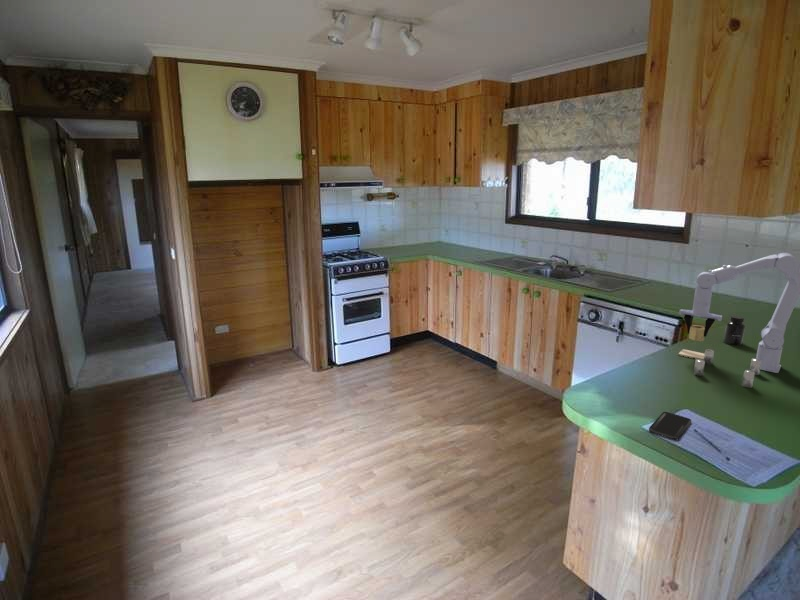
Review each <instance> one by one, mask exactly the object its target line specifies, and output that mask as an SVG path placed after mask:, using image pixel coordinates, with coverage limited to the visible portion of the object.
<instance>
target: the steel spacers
mask: <svg viewBox="0 0 800 600" xmlns="http://www.w3.org/2000/svg"><path fill="white" fill-rule="evenodd" d="M714 354H715V350H714V349H711V348H705V349H704V360H700V359H694V360H695V362H694V368H693V372H692V373H693V375H694V376H696V375H697V376H696V377H703V376H704V370H705V365H709V366H711V365H713V360H714V356H715V355H714ZM761 362H762V360H760V359H757V358H756V357H752V358H751V359H750V364H749V365H750V367H749V369H745V370H744V371H743V376H742V381H741V386H742V387H744V388H748V389H752V388H753V384H754V379H755V376H759V375H760V372H761V370H760V367H761Z"/></svg>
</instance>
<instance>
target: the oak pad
mask: <svg viewBox="0 0 800 600" xmlns="http://www.w3.org/2000/svg"><path fill="white" fill-rule="evenodd" d="M704 354H705V352H704V353H703V352H699V351H694V350H690V349H689V350H688V349H683V348H682V350H680V351H679V352H678V354H677V356H680V357H683V356H684V357H685V358H688V357H689V358H688V359H693V358H695V359H694V360H696V359H700V360H704Z"/></svg>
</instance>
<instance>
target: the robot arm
mask: <svg viewBox="0 0 800 600" xmlns="http://www.w3.org/2000/svg"><path fill="white" fill-rule="evenodd" d="M775 268H776V270H777V271H778V272H780V273H781V274H783V276H785V278H786V280H787V282H786V285H785V287H784V289H783V292H782V293H781V296H780V298H779V300H778V303H777V305H776V308H775V310H774V312H773V314H772V316H771V319H770V320H769V321H768V323H767V325H766V326H765V327H764V328H762V329H761V330H760V331H761V332H760V337H761V338H762V340H761V341H759V342H758V345H757V351H756V357H755V358H757V359H760V360H762V362H761V367H760V371H766V372H770V373H775V374H779V372H780V370H781V367H782V365H781V364H780V362H781V357H782V353H783V345H784V343H785V337H784V336H785V332H786V329H787V324H788V322H789V320H790V318H791V316H792V313H793V310H794V308H795V307H796V305H797V302H798V300H799V298H800V261H799V259H797V258H796V257H795V256H794V255H793V254H792V253H789V252H780V253H778V254H776V253H774V254H770V255H767V256H764V257H760V258H758V259H755V260H752V261H748V262H746V263H745V262H744V263H743V264H740V265H736V266H734V265H732V264H728V265H727V264H723V265H722V267H719V268H716V269H708V270H707V271H702V272H700V273H699V274H698V275H697V277H696V286H695V290H694V295H693V296H694V297H693V303H692V304H693V305H692V309H684V308H683V309H682V308H681V309H679V311H678V315H680V316H682V315H683V319H684V322H685V324H686V325H685V326H686V329H687V330H686V331H687V334H688V335H689V332H690V326H691V325H693V324H692V323H693V321H694V320H693V319H694V318H700V319H705V324H704V325H705V326H704V327H705V331H704V337H705V338H706V337H707V335H708V333H709V331H710V329H711V327H712V325H713V324H714V322H715V321H717V322H721V321H722V319H723V315H720V314H715V313H712V312H711V313H710V308H711V303H712V297H713V295H712V294H713V291H712V290H713V286H714V285H719V284H722V283H726V282H730V281H733V280H735V279H738V278H737V277H738V276H739V275H742V274H746V273H749V272H754V271H757V270H761V269H762V270H763V269H765V270H771V271H774V270H775Z"/></svg>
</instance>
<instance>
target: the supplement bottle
mask: <svg viewBox="0 0 800 600" xmlns="http://www.w3.org/2000/svg"><path fill="white" fill-rule="evenodd" d="M744 320H745V318H744V316H738V315H731V316H730V318H729V321H727V323H726V325H725V330H724V334H723V335H724V336H723V342H724V343H725V344H727V345H732V346H741V345H742V344H743V340H744V337H745V336H744V334H745V329H746V324H744V322H745V321H744Z"/></svg>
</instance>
